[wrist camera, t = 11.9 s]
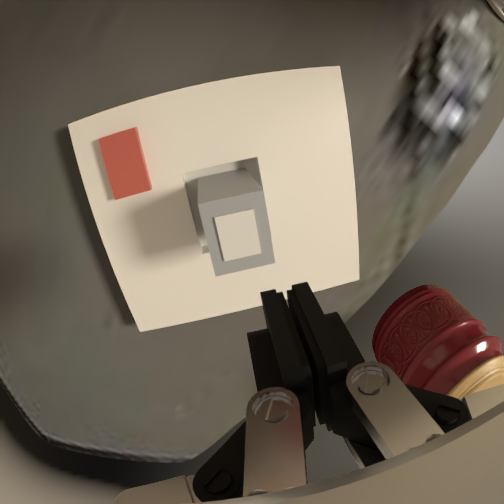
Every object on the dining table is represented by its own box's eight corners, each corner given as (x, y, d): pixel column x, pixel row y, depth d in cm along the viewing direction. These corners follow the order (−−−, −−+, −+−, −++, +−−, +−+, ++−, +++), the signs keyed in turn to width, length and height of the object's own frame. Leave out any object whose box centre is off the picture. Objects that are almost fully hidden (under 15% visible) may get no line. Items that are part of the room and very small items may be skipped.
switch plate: (330, 68, 24) (343, 64, 22) (351, 270, 33) (362, 283, 30) (76, 123, 23) (64, 125, 20) (142, 319, 31) (139, 337, 29)
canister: (356, 366, 40) (415, 473, 24) (390, 280, 34) (487, 386, 19) (426, 357, 42) (488, 440, 26) (461, 282, 37) (548, 360, 21)
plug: (245, 167, 27) (263, 190, 19) (255, 222, 29) (275, 264, 21) (197, 177, 26) (197, 204, 19) (210, 232, 28) (215, 277, 21)
